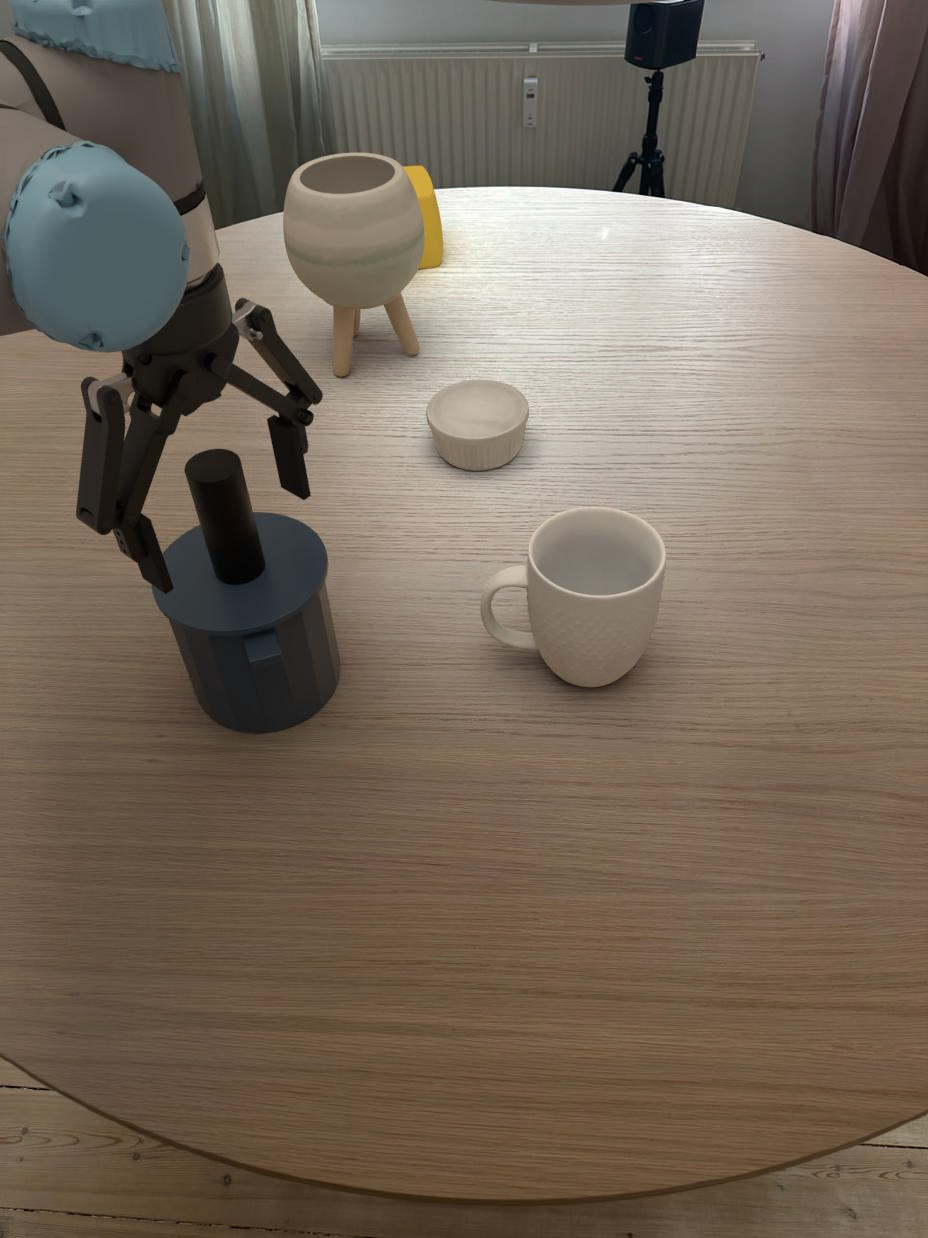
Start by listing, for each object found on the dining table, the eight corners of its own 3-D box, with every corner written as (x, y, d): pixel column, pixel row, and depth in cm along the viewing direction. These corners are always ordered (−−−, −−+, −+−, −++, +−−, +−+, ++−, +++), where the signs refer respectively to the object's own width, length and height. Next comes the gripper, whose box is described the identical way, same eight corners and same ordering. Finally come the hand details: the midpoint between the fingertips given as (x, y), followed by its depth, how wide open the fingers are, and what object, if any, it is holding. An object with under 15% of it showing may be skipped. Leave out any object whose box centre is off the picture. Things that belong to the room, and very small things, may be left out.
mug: (480, 707, 84) (476, 597, 74) (483, 615, 91) (480, 505, 82) (657, 708, 83) (675, 598, 73) (645, 615, 90) (660, 504, 81)
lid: (167, 662, 72) (124, 548, 64) (145, 546, 81) (105, 434, 73) (348, 613, 75) (329, 498, 67) (307, 507, 84) (286, 394, 76)
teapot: (453, 281, 137) (449, 196, 129) (365, 290, 136) (355, 205, 128) (434, 220, 151) (429, 140, 143) (353, 229, 150) (344, 148, 142)
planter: (332, 316, 131) (307, 141, 115) (447, 329, 128) (438, 150, 112) (285, 380, 121) (250, 197, 105) (409, 396, 117) (393, 209, 101)
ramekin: (446, 487, 105) (444, 447, 101) (416, 431, 112) (412, 391, 108) (544, 464, 107) (545, 423, 103) (507, 410, 114) (507, 370, 111)
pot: (214, 776, 79) (177, 675, 71) (182, 627, 91) (147, 524, 83) (364, 731, 82) (346, 628, 73) (314, 592, 94) (293, 489, 85)
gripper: (271, 187, 68) (314, 441, 83) (-61, 335, 55) (62, 603, 70) (347, 215, 65) (378, 474, 80) (11, 379, 52) (124, 652, 67)
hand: (230, 535), depth 75 cm, fingers open, 13 cm apart
